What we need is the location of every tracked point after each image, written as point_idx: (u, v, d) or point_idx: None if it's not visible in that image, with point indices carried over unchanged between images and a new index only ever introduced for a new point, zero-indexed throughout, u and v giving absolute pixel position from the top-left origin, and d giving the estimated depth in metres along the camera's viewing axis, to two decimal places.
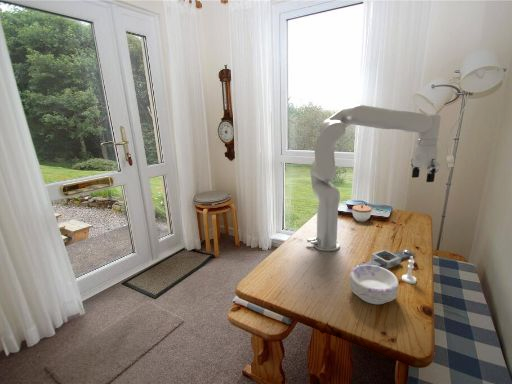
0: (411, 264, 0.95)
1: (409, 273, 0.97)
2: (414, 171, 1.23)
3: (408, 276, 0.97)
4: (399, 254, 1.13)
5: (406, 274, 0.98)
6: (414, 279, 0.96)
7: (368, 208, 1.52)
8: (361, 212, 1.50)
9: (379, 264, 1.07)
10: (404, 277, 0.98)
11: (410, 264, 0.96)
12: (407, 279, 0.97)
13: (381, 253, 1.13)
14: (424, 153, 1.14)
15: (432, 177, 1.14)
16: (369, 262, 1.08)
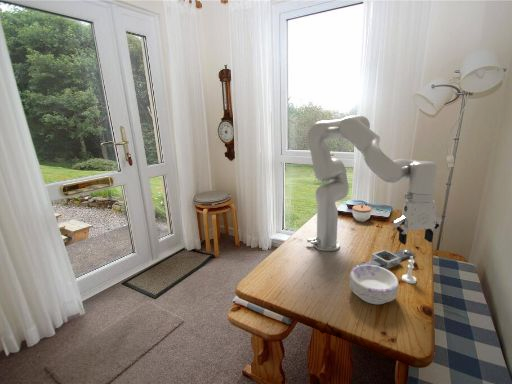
0: (411, 264, 0.95)
1: (409, 273, 0.97)
2: None
3: (408, 276, 0.97)
4: (399, 254, 1.13)
5: (406, 274, 0.98)
6: (414, 279, 0.96)
7: (368, 208, 1.52)
8: (361, 212, 1.50)
9: (379, 264, 1.07)
10: (404, 277, 0.98)
11: (410, 264, 0.96)
12: (407, 279, 0.97)
13: (381, 253, 1.13)
14: (431, 210, 0.87)
15: None
16: (369, 262, 1.08)
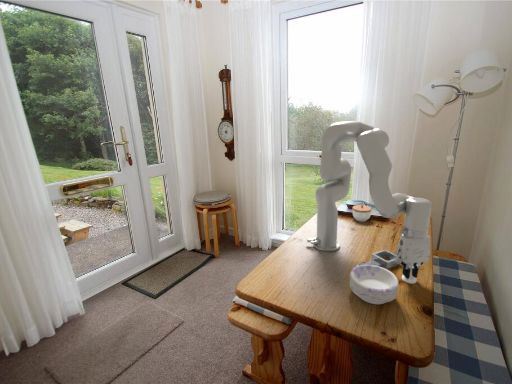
0: (411, 264, 0.95)
1: None
2: None
3: None
4: None
5: None
6: (414, 279, 0.96)
7: (368, 208, 1.52)
8: (361, 212, 1.50)
9: (379, 264, 1.07)
10: (404, 277, 0.98)
11: (410, 264, 0.96)
12: (407, 279, 0.97)
13: (381, 253, 1.13)
14: (426, 245, 0.91)
15: None
16: (369, 262, 1.08)
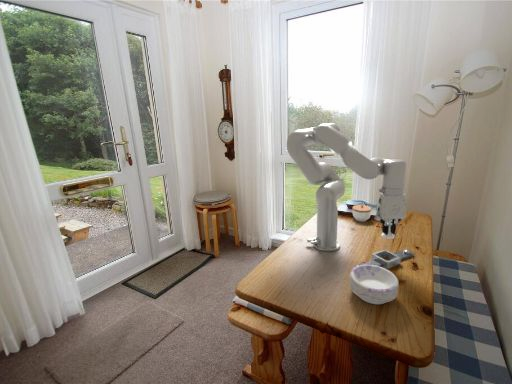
0: (389, 221, 1.05)
1: (388, 230, 1.06)
2: None
3: None
4: (399, 254, 1.13)
5: None
6: (392, 235, 1.05)
7: (368, 208, 1.52)
8: (361, 212, 1.50)
9: (379, 264, 1.07)
10: (383, 234, 1.07)
11: (389, 221, 1.05)
12: (386, 235, 1.06)
13: (381, 253, 1.13)
14: (402, 202, 1.00)
15: None
16: (369, 262, 1.08)
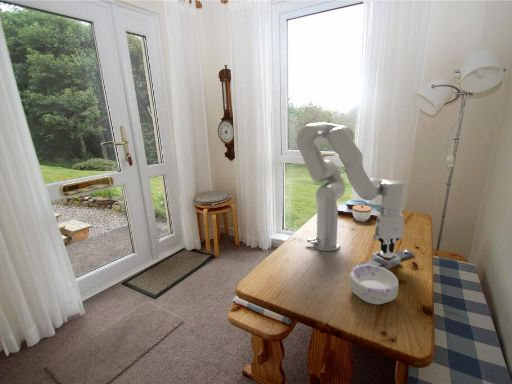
0: (388, 240, 1.07)
1: None
2: None
3: None
4: (399, 254, 1.13)
5: None
6: (391, 254, 1.08)
7: (368, 208, 1.52)
8: (361, 212, 1.50)
9: (379, 264, 1.07)
10: (382, 252, 1.09)
11: (387, 240, 1.07)
12: (384, 254, 1.08)
13: None
14: (400, 222, 1.03)
15: None
16: (369, 262, 1.08)
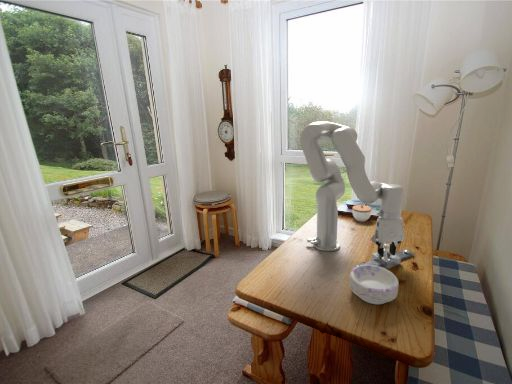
0: (386, 248, 1.08)
1: (385, 256, 1.09)
2: None
3: (384, 258, 1.09)
4: (399, 254, 1.13)
5: None
6: None
7: (368, 208, 1.52)
8: (361, 212, 1.50)
9: (379, 264, 1.07)
10: None
11: (385, 248, 1.08)
12: None
13: None
14: (399, 226, 1.03)
15: None
16: (369, 262, 1.08)
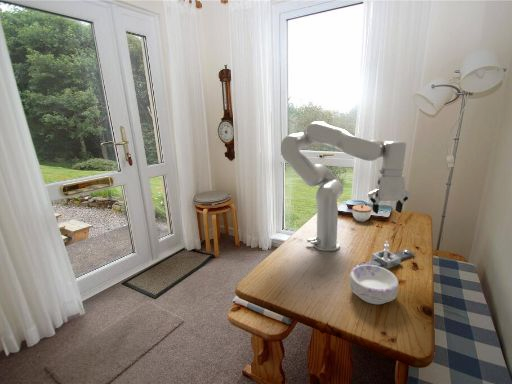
0: (386, 248, 1.08)
1: (385, 256, 1.09)
2: None
3: (384, 258, 1.09)
4: (399, 254, 1.13)
5: None
6: None
7: (368, 208, 1.52)
8: (361, 212, 1.50)
9: (379, 264, 1.07)
10: None
11: (385, 248, 1.08)
12: None
13: (381, 253, 1.13)
14: (400, 184, 1.01)
15: None
16: (369, 262, 1.08)
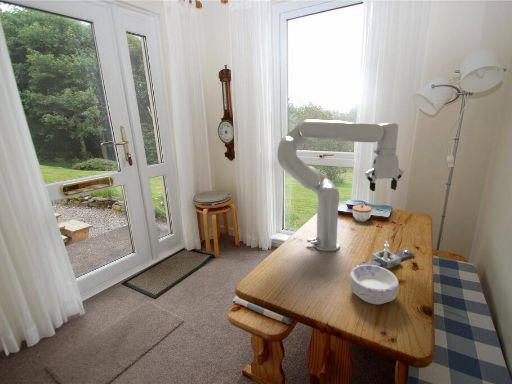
0: (386, 248, 1.08)
1: (385, 256, 1.09)
2: None
3: (384, 258, 1.09)
4: (399, 254, 1.13)
5: None
6: None
7: (368, 208, 1.52)
8: (361, 212, 1.50)
9: (379, 264, 1.07)
10: None
11: (385, 248, 1.08)
12: None
13: (381, 253, 1.13)
14: (394, 162, 1.10)
15: None
16: (369, 262, 1.08)
